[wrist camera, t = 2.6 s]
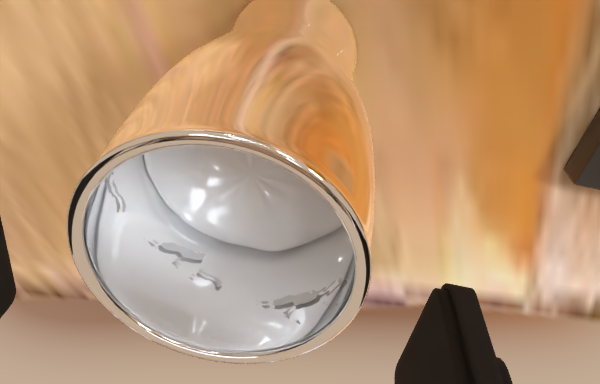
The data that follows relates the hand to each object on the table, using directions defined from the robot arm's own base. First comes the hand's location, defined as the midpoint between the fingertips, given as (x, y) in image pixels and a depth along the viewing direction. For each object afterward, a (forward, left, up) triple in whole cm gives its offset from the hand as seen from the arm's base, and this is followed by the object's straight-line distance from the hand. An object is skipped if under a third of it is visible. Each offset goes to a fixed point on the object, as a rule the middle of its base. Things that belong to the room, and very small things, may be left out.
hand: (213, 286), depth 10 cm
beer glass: (0, 0, -15) cm, 15 cm away
